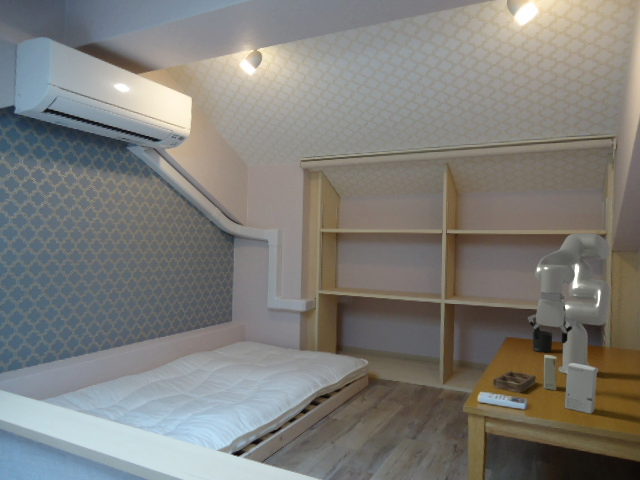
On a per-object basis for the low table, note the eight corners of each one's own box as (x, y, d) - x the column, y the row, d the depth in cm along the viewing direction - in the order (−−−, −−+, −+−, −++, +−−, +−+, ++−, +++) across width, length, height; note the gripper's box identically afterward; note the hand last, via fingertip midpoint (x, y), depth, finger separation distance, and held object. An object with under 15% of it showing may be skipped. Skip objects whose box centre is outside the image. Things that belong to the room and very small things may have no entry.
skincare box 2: (564, 408, 160) (565, 364, 160) (569, 404, 165) (569, 361, 165) (592, 414, 155) (593, 369, 155) (596, 410, 159) (597, 366, 159)
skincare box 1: (556, 390, 180) (557, 358, 180) (543, 389, 182) (544, 357, 182) (555, 386, 186) (556, 355, 186) (543, 384, 188) (544, 354, 188)
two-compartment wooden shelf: (535, 383, 189) (535, 375, 189) (519, 393, 176) (520, 385, 176) (510, 378, 196) (510, 371, 196) (493, 387, 182) (493, 379, 183)
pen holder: (530, 348, 256) (530, 330, 256) (548, 349, 255) (548, 331, 255) (535, 352, 247) (536, 333, 247) (554, 353, 245) (555, 334, 245)
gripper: (578, 298, 181) (577, 343, 181) (531, 294, 193) (530, 336, 193) (573, 300, 176) (572, 345, 175) (525, 295, 187) (524, 338, 187)
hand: (550, 340), depth 184 cm, fingers open, 9 cm apart
